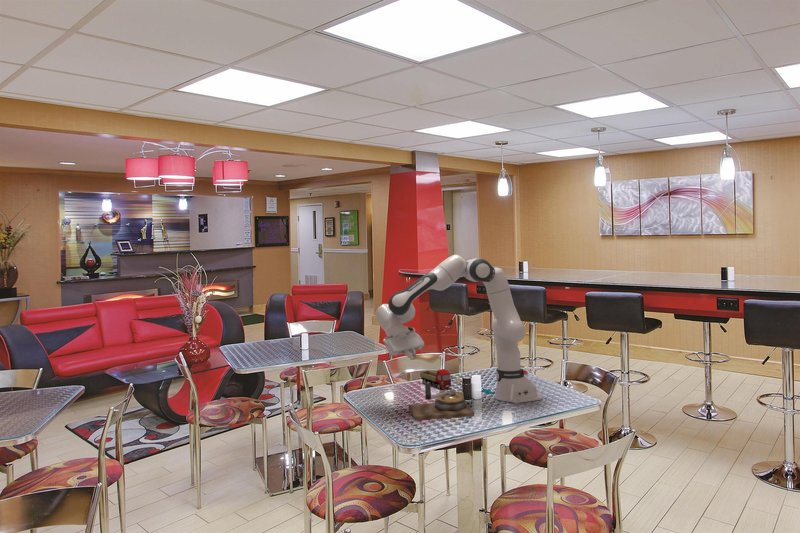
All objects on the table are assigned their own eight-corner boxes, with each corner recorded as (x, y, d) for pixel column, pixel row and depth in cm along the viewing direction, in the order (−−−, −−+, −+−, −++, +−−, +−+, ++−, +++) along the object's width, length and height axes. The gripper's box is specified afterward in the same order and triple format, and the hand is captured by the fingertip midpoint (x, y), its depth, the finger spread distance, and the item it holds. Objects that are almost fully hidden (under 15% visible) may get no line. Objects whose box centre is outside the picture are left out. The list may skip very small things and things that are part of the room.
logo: (450, 379, 291) (466, 376, 295) (450, 381, 291) (466, 378, 295) (485, 394, 260) (502, 390, 264) (485, 396, 260) (502, 393, 264)
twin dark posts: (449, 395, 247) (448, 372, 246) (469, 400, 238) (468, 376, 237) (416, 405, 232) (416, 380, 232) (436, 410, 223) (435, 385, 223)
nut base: (463, 404, 246) (463, 395, 246) (474, 415, 228) (474, 406, 228) (408, 407, 243) (408, 399, 243) (415, 420, 225) (414, 410, 225)
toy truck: (442, 391, 270) (442, 372, 269) (420, 383, 287) (419, 365, 287) (453, 389, 273) (452, 370, 273) (430, 381, 291) (429, 363, 290)
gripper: (384, 333, 231) (401, 358, 224) (416, 327, 245) (433, 350, 239) (378, 342, 234) (394, 367, 227) (409, 336, 249) (425, 359, 242)
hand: (414, 358), depth 233 cm, fingers closed
